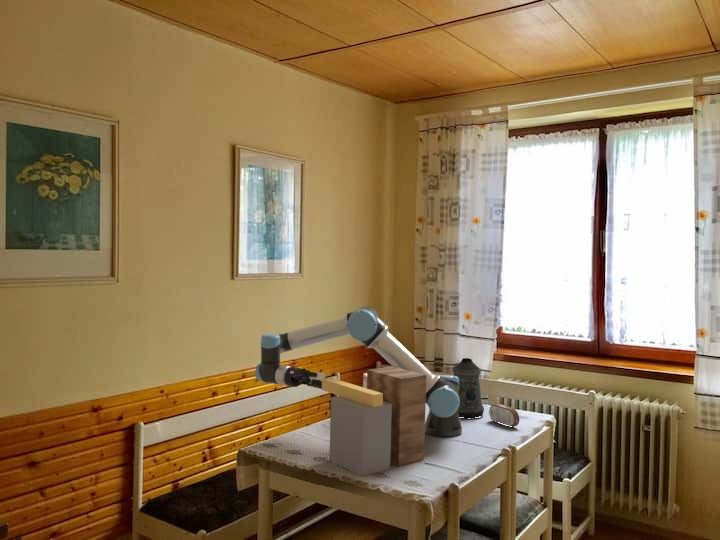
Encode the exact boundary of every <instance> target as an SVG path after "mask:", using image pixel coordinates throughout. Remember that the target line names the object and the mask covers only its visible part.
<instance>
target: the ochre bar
mask: <svg viewBox="0 0 720 540" xmlns="http://www.w3.org/2000/svg"><path fill="white" fill-rule="evenodd" d="M321 381H322V389H321V391H324V392H327V393H330V394H333V395H336V396H342V397H345V398H348V399H351V400H353V401H356V402H359V403H362V404H365V405H368V406H371V407H377V406H382V405H383V393H380V392H376V391H373V390H370V389H367V388H363V386H360V385H356V384H353V383H349V382H347V381H344V380H340V379H336V378H333V377H328V378H327V377H325V379H322V380H321Z"/></svg>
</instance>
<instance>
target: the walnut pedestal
mask: <svg viewBox="0 0 720 540" xmlns="http://www.w3.org/2000/svg"><path fill="white" fill-rule="evenodd" d="M366 371H367V372H366V373H367V389H370V390H373V391H376V392H380V393H383V401H384V402H388V403H391V404H392V416H391V450H390V464H392V465H394V466H395V467H396V466H397V467H402V466H405V465H409V464H412V463H417V462H420V461H424V460H425V438H426V437H425V433H426V432H425V422H426V406H427V404H426V375H424V374H420V373H416V372H412V371H408V370H404V369H400V368H396V367H393V366H387V367H386V366H385V367H378V368H370V369H367V370H366Z"/></svg>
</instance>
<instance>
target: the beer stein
mask: <svg viewBox="0 0 720 540" xmlns="http://www.w3.org/2000/svg"><path fill="white" fill-rule="evenodd" d="M452 371H453V376H457V377H458V378H459V383H460V384H459V398H460V405H459V407H458V415H459V417H464V418H475V417H479V416H482V415H484V411H485V408H484V405H483V401H482V400H483V399H482V394H481V392H482V391H481V383H480V375H481V372H482V371H481V368H480V367H479V366H478V365H477V364H475V363H474V361H473V359H471V358H468V357H467V358H466V357H463V358H462V359H461V361H460V362H458V363H457V364H456V365H455V366H454V367H453V368H452ZM482 417H483V416H482Z"/></svg>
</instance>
